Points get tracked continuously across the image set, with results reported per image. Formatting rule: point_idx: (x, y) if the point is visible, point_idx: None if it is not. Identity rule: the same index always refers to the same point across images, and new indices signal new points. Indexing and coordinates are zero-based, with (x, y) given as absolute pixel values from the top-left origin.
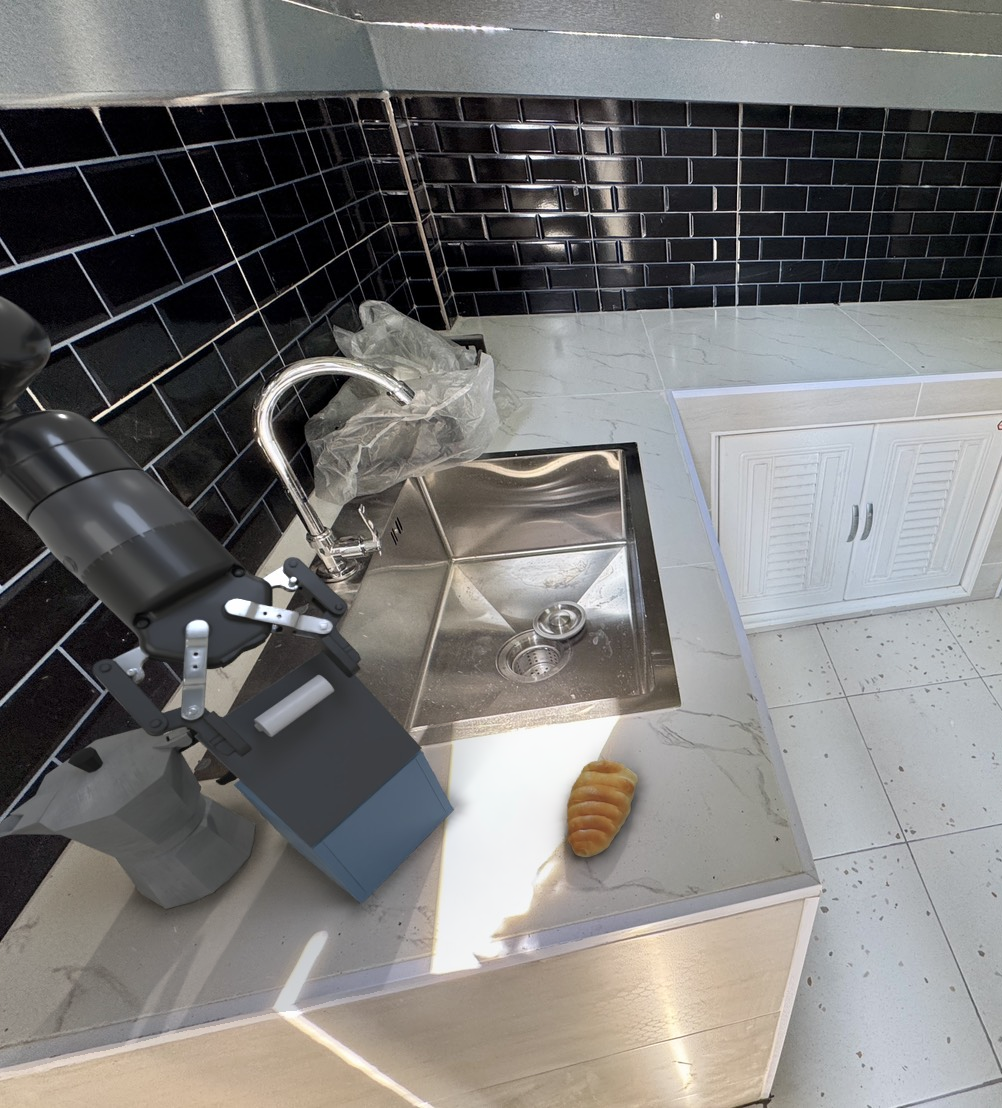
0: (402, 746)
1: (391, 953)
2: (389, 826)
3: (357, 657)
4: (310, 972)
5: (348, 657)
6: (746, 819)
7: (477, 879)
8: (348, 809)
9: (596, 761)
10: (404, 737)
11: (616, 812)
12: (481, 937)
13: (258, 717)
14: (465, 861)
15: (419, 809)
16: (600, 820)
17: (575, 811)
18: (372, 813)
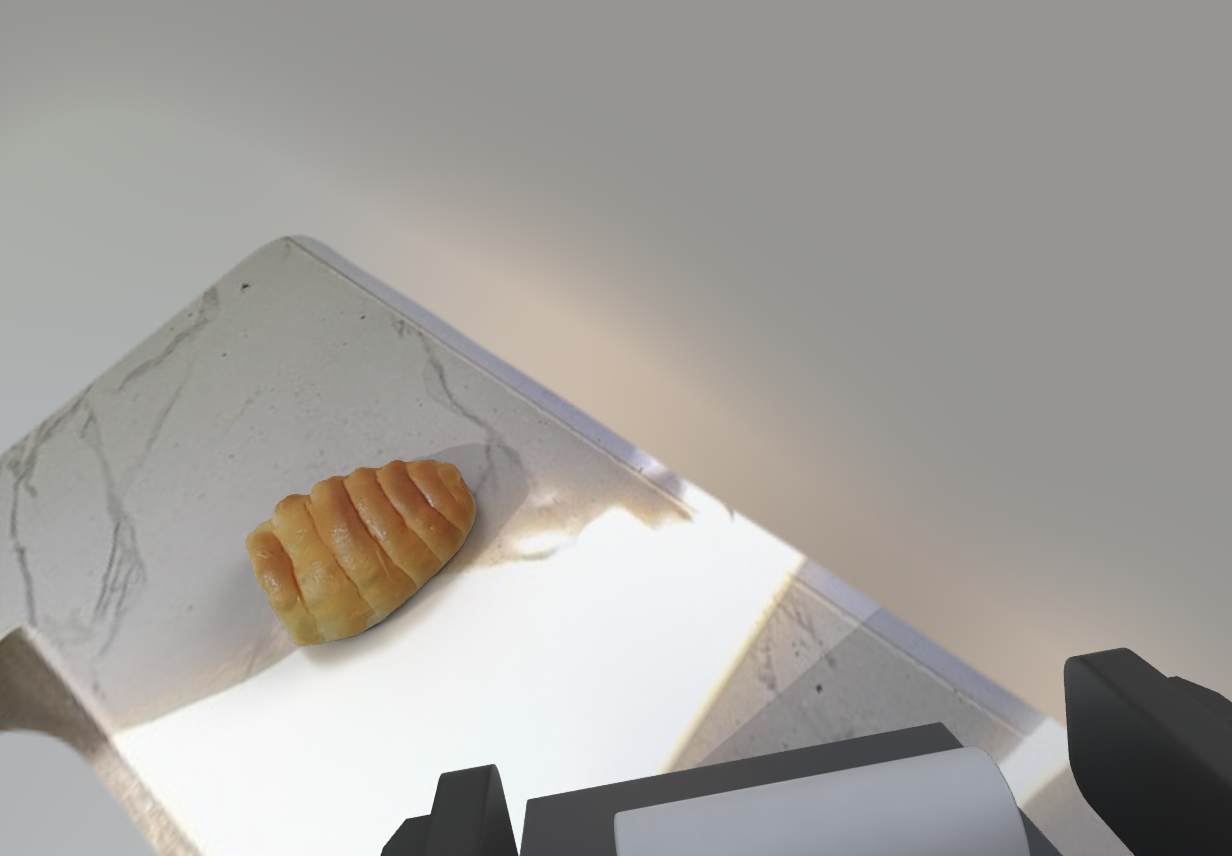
0: (567, 820)
1: (857, 643)
2: None
3: (406, 830)
4: (1012, 746)
5: (439, 819)
6: (236, 340)
7: (647, 640)
8: (809, 751)
9: (269, 596)
10: (541, 838)
11: (355, 473)
12: (706, 532)
13: (1006, 839)
14: (642, 701)
15: None
16: (389, 480)
17: (403, 546)
18: None
